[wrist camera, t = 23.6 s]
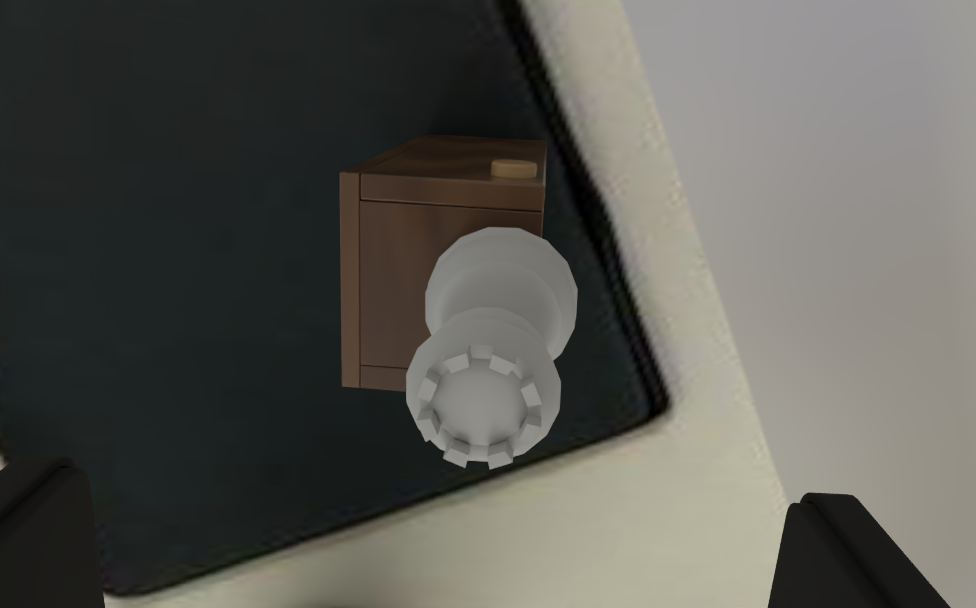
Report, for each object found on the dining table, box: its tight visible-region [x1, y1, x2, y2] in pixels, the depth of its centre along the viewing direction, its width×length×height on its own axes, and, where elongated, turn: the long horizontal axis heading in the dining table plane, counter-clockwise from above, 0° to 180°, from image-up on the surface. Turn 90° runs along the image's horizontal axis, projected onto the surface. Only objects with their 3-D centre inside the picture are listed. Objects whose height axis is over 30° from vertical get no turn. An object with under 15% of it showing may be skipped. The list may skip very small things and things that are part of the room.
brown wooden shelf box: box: [340, 134, 547, 391], centre depth 29 cm, size 15×8×6 cm
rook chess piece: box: [406, 227, 578, 469], centre depth 18 cm, size 4×4×8 cm
